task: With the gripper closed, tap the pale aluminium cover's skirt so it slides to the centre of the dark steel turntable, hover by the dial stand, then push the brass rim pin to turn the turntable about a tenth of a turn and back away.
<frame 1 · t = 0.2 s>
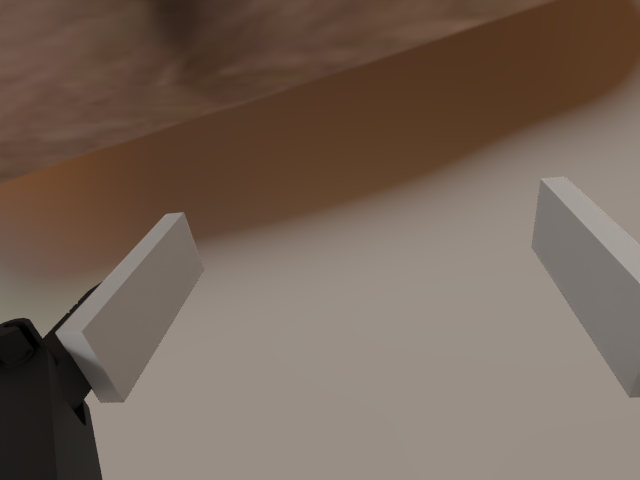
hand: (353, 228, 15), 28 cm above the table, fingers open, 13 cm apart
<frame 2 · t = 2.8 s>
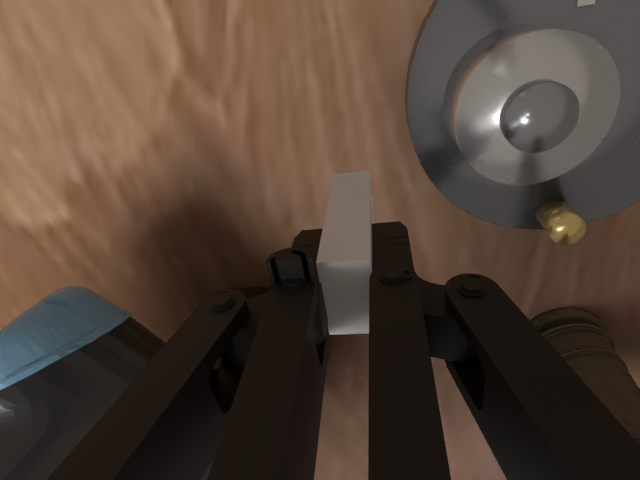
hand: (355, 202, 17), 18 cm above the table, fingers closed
container: (557, 338, 43), on the table
turntable: (575, 90, 27), point 4 cm above the table, hinge at 0.0°, touching cover
cover: (509, 97, 28), point 3 cm above the table, touching turntable
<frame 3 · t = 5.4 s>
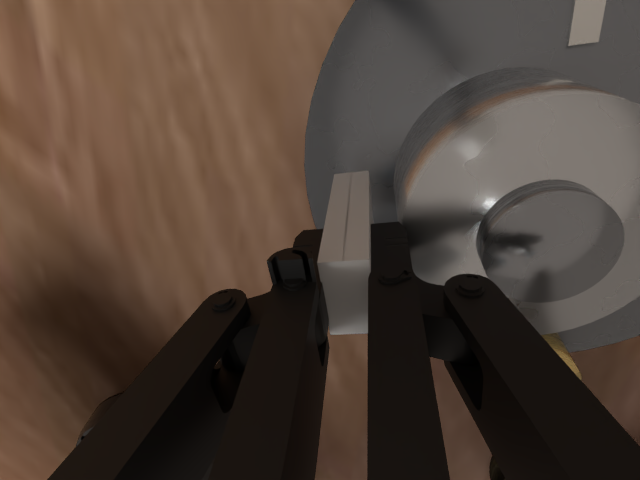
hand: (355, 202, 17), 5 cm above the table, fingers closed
turntable: (564, 176, 17), point 4 cm above the table, hinge at -0.2°, touching cover
cover: (498, 178, 18), point 3 cm above the table, touching gripper, turntable
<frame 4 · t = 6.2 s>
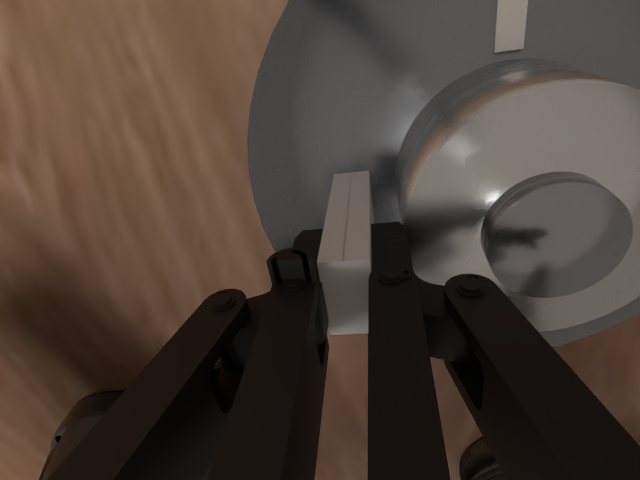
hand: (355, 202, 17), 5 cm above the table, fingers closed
container: (513, 460, 33), on the table
turntable: (500, 180, 17), point 4 cm above the table, hinge at -0.2°, touching cover
cover: (501, 172, 17), point 3 cm above the table, touching gripper, turntable
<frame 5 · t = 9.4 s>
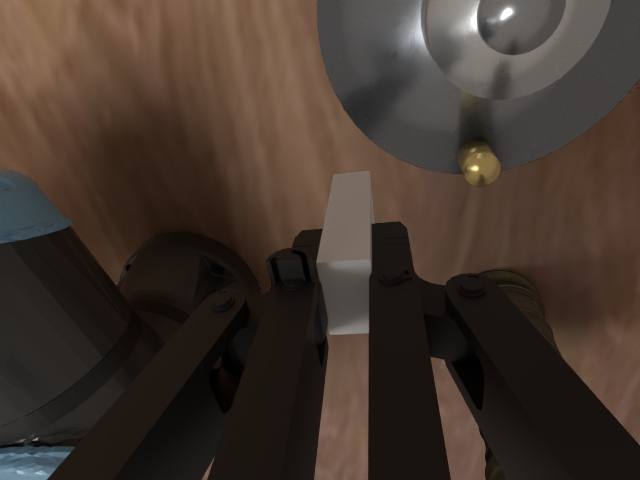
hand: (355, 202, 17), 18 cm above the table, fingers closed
container: (491, 304, 42), on the table
turntable: (491, 11, 25), point 4 cm above the table, hinge at -0.2°, touching cover
cover: (493, 7, 25), point 3 cm above the table, touching turntable
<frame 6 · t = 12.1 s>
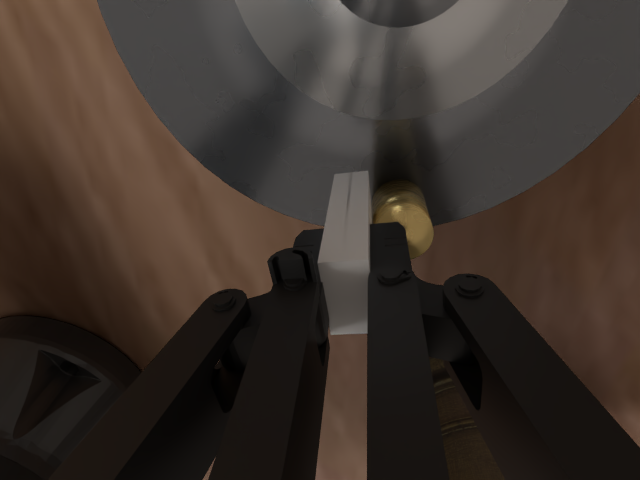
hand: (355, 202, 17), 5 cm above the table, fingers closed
container: (460, 389, 30), on the table
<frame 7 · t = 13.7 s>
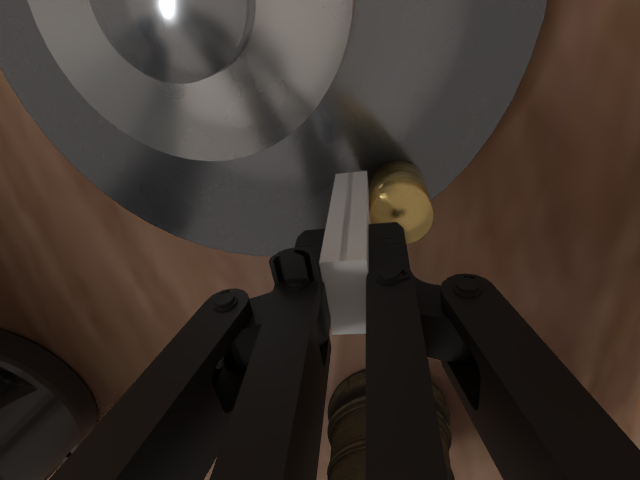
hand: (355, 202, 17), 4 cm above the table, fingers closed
container: (387, 406, 30), on the table
turntable: (233, 9, 15), point 4 cm above the table, hinge at 35.7°, touching cover, gripper
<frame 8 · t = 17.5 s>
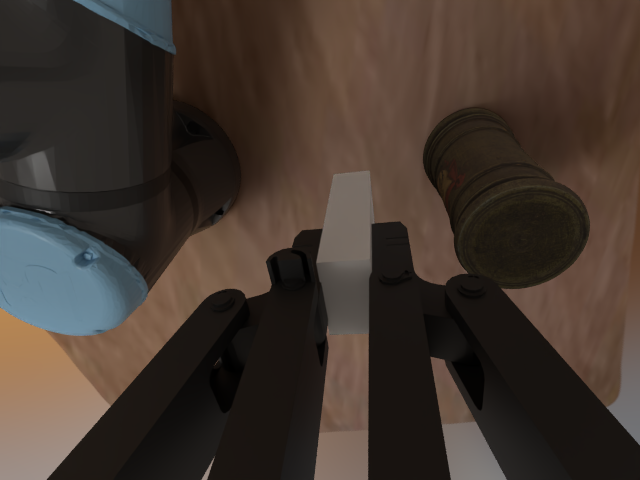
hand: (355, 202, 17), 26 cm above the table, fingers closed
container: (465, 151, 42), on the table
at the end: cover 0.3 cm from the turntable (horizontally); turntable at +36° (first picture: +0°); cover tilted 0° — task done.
